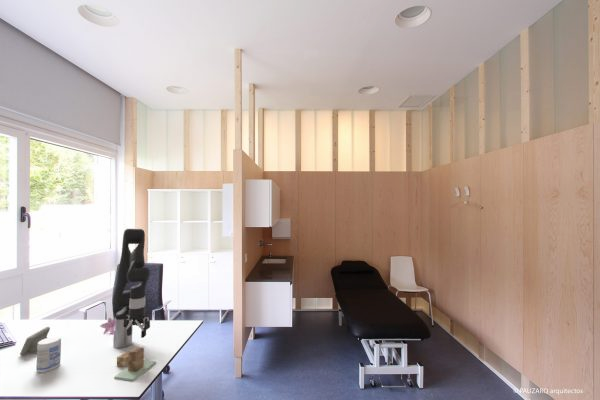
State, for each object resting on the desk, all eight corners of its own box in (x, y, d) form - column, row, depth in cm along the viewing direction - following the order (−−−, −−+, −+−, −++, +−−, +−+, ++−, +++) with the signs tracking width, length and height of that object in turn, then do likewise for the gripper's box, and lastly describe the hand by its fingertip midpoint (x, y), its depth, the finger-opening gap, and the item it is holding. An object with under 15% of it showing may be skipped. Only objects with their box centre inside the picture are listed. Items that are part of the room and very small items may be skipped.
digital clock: (42, 342, 171) (42, 325, 172) (55, 343, 171) (56, 326, 171) (14, 356, 155) (14, 338, 155) (29, 357, 155) (29, 338, 155)
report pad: (114, 378, 136) (114, 376, 136) (138, 360, 152) (138, 359, 152) (133, 381, 134) (133, 379, 134) (155, 363, 150) (155, 361, 150)
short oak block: (116, 366, 147) (116, 356, 147) (124, 361, 152) (124, 352, 152) (124, 367, 146) (124, 357, 146) (131, 362, 151) (132, 353, 151)
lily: (98, 333, 186) (96, 324, 182) (114, 321, 196) (112, 312, 192) (110, 341, 183) (108, 332, 179) (126, 328, 193) (125, 319, 189)
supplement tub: (52, 371, 141) (53, 343, 141) (31, 374, 139) (32, 345, 139) (64, 361, 150) (65, 335, 151) (44, 363, 148) (45, 336, 149)
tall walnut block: (128, 370, 141) (128, 351, 141) (135, 365, 146) (136, 346, 146) (136, 371, 140) (136, 352, 140) (143, 366, 145) (144, 347, 145)
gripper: (120, 306, 141) (119, 338, 141) (143, 309, 138) (142, 341, 138) (131, 302, 149) (130, 331, 148) (154, 304, 146) (153, 334, 145)
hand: (136, 336), depth 143 cm, fingers open, 8 cm apart
